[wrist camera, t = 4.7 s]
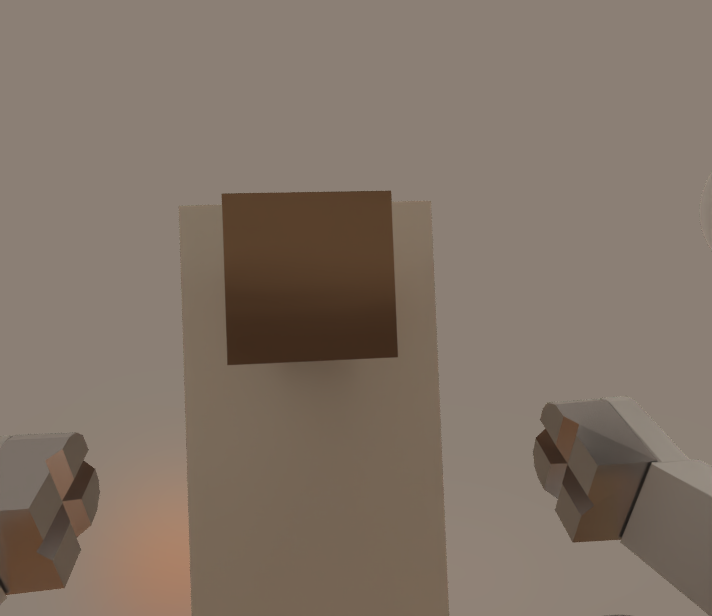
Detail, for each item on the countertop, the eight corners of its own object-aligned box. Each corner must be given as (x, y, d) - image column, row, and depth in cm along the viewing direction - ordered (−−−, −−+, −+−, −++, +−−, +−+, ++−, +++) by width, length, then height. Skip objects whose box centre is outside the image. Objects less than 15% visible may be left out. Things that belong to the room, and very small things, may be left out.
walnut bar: (397, 357, 10) (391, 190, 10) (227, 365, 9) (221, 194, 9) (341, 334, 28) (339, 276, 28) (282, 337, 27) (280, 277, 27)
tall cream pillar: (469, 1077, 18) (431, 200, 18) (207, 1124, 17) (178, 205, 18) (412, 805, 28) (389, 243, 28) (246, 827, 27) (226, 247, 28)
